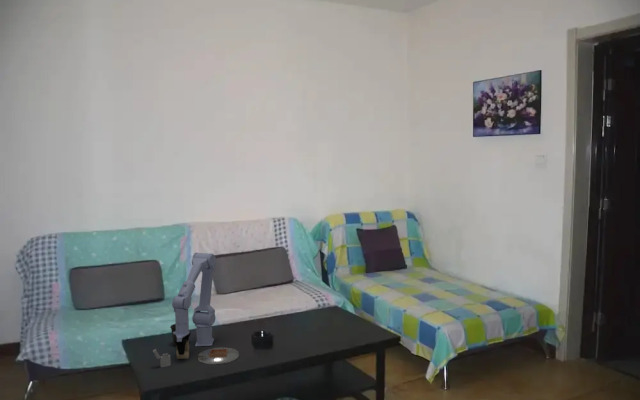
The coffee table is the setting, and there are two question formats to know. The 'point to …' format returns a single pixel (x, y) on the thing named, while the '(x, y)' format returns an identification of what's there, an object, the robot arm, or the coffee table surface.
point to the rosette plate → (218, 356)
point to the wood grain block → (186, 353)
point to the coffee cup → (173, 328)
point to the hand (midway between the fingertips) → (182, 351)
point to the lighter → (163, 359)
